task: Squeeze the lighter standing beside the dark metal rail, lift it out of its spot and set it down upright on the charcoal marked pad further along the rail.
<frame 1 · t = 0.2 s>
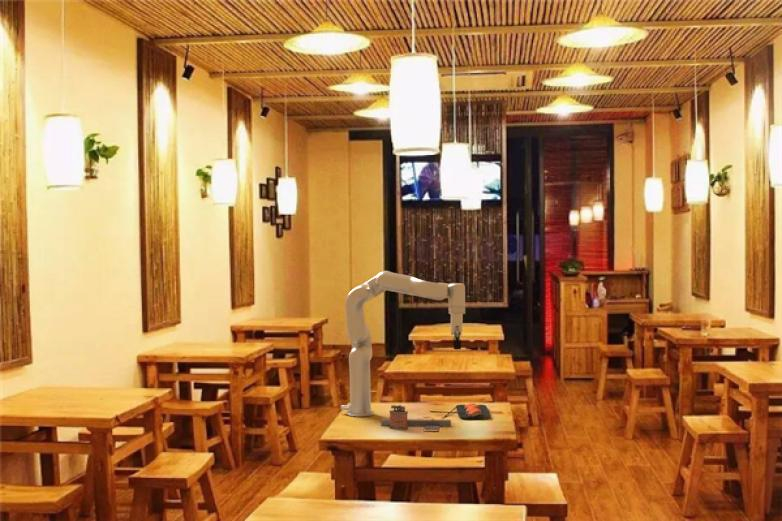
hand: (457, 347, 391), 31 cm above the table, tool pointing down, fingers open, 9 cm apart
sushi plate: (456, 415, 396), on the table
marked pad: (431, 428, 364), on the table
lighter: (398, 429, 365), on the table
rail: (416, 425, 371), on the table
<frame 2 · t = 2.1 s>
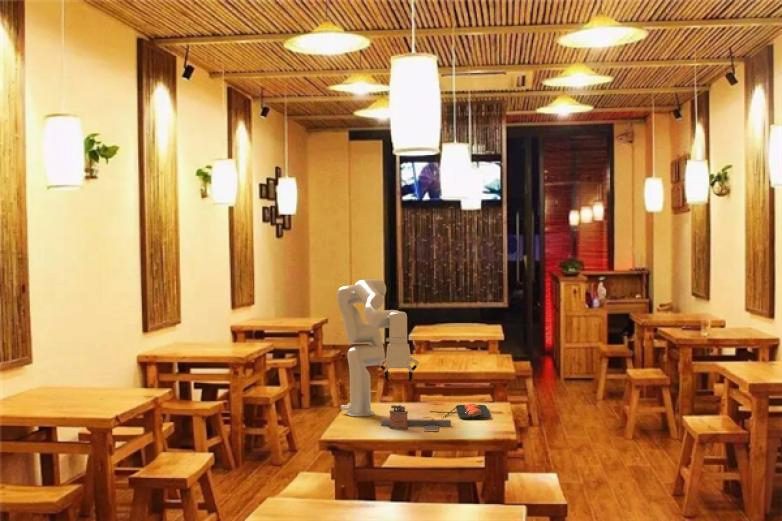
hand: (398, 381, 365), 20 cm above the table, tool pointing down, fingers open, 9 cm apart
nothing on the table moved.
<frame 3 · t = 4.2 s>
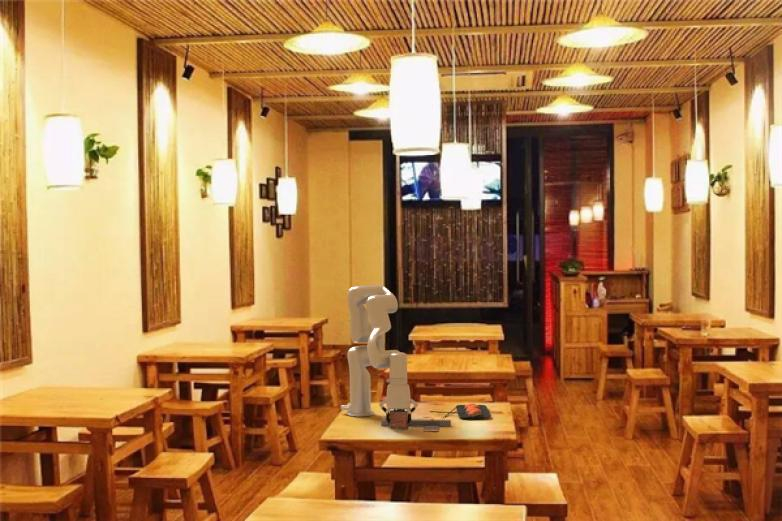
hand: (398, 422, 365), 3 cm above the table, tool pointing down, fingers closed on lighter, 8 cm apart
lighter: (398, 429, 365), on the table, touching gripper
everything else where it was.
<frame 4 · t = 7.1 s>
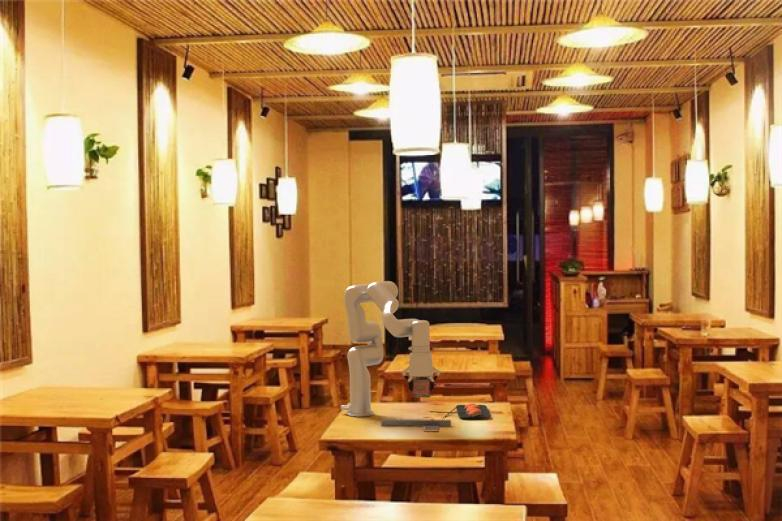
hand: (421, 390, 364), 16 cm above the table, tool pointing down, fingers closed on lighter, 8 cm apart
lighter: (421, 397, 364), point 14 cm above the table, touching gripper
everything else where it was.
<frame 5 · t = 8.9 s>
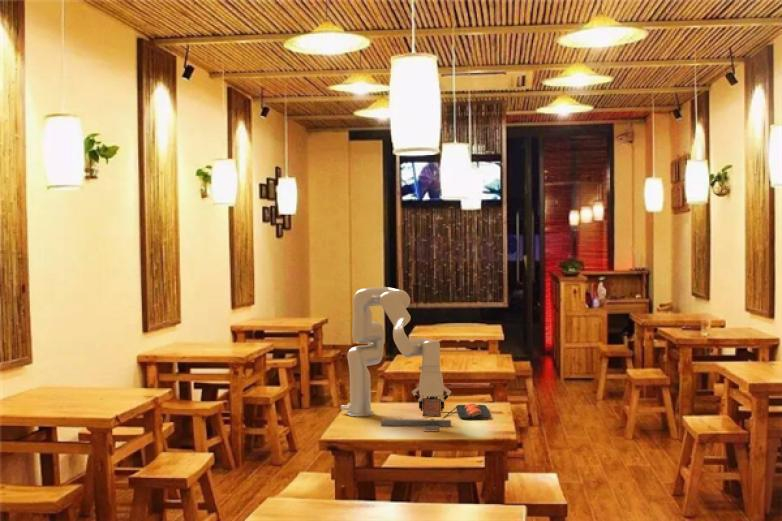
hand: (431, 410, 364), 8 cm above the table, tool pointing down, fingers closed on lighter, 8 cm apart
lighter: (431, 416, 364), point 5 cm above the table, touching gripper
everything else where it was.
when the fingers open (4 cm above the table, at t = 10.3 s): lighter drops 1 cm, resting on marked pad.
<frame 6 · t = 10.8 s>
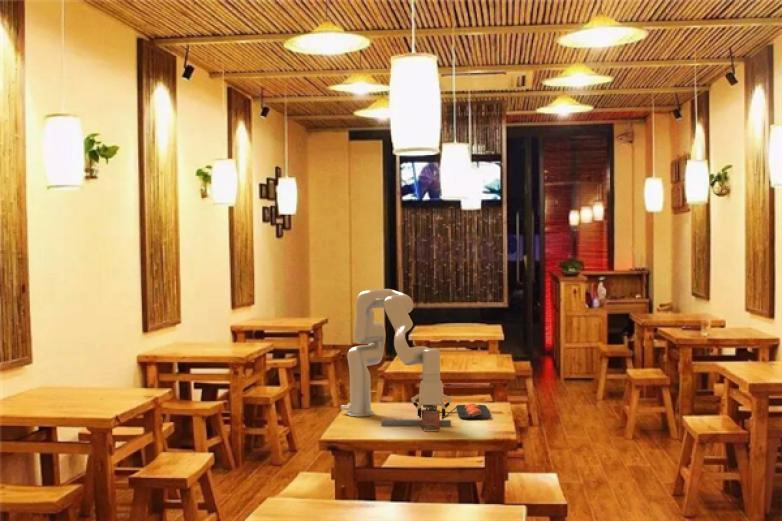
hand: (431, 417, 364), 5 cm above the table, tool pointing down, fingers open, 9 cm apart
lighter: (430, 428, 364), resting on marked pad
everything else where it was.
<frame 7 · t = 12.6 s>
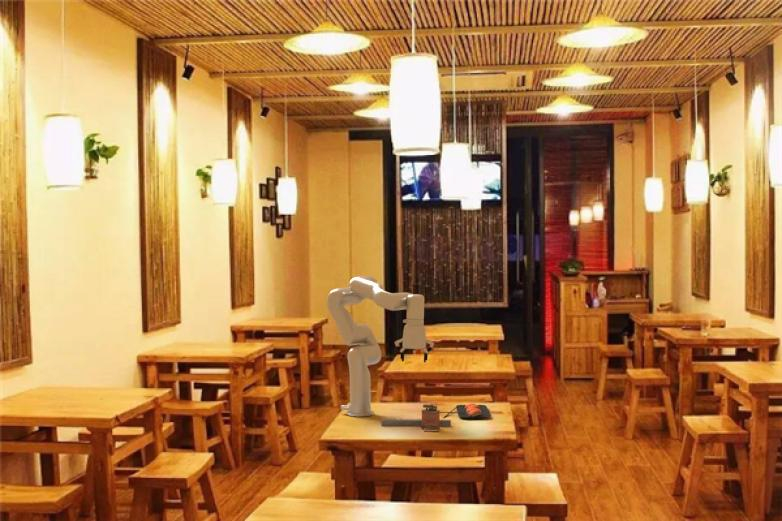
hand: (413, 361, 376), 27 cm above the table, tool pointing down, fingers open, 9 cm apart
nothing on the table moved.
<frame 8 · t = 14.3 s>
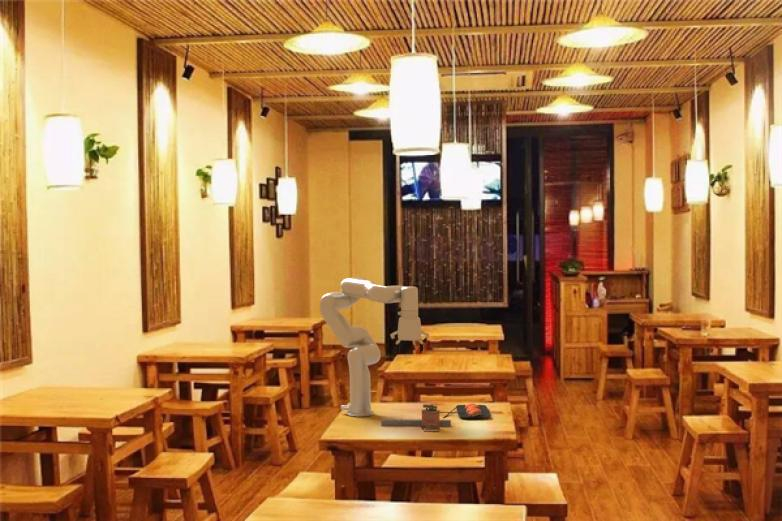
hand: (409, 353, 379), 30 cm above the table, tool pointing down, fingers open, 9 cm apart
nothing on the table moved.
at the end: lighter 0.4 cm off-centre on the marked pad, point 0.2 cm above the marked pad's base; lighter tilted 0°; the gripper is holding nothing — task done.
